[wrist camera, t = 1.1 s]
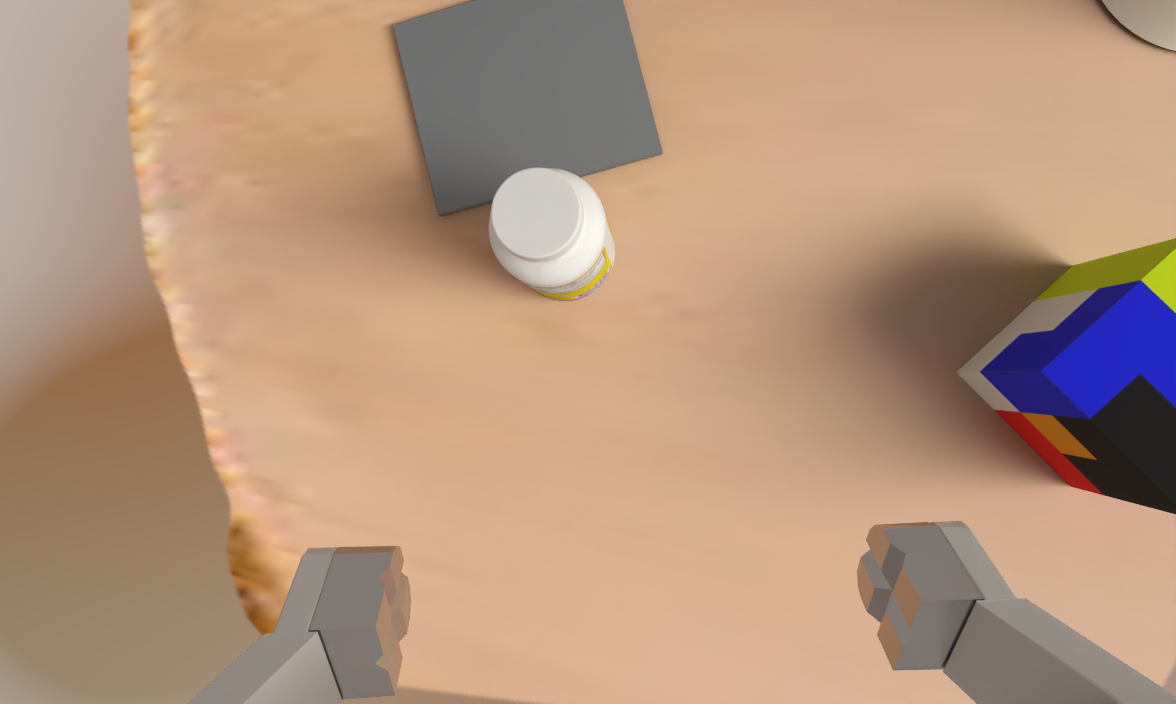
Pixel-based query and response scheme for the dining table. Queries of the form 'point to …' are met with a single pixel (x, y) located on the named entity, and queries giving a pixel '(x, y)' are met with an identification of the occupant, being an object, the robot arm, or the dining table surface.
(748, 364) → the dining table surface
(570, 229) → the supplement bottle
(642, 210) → the dining table surface
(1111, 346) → the puzzle toy
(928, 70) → the dining table surface
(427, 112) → the mat
